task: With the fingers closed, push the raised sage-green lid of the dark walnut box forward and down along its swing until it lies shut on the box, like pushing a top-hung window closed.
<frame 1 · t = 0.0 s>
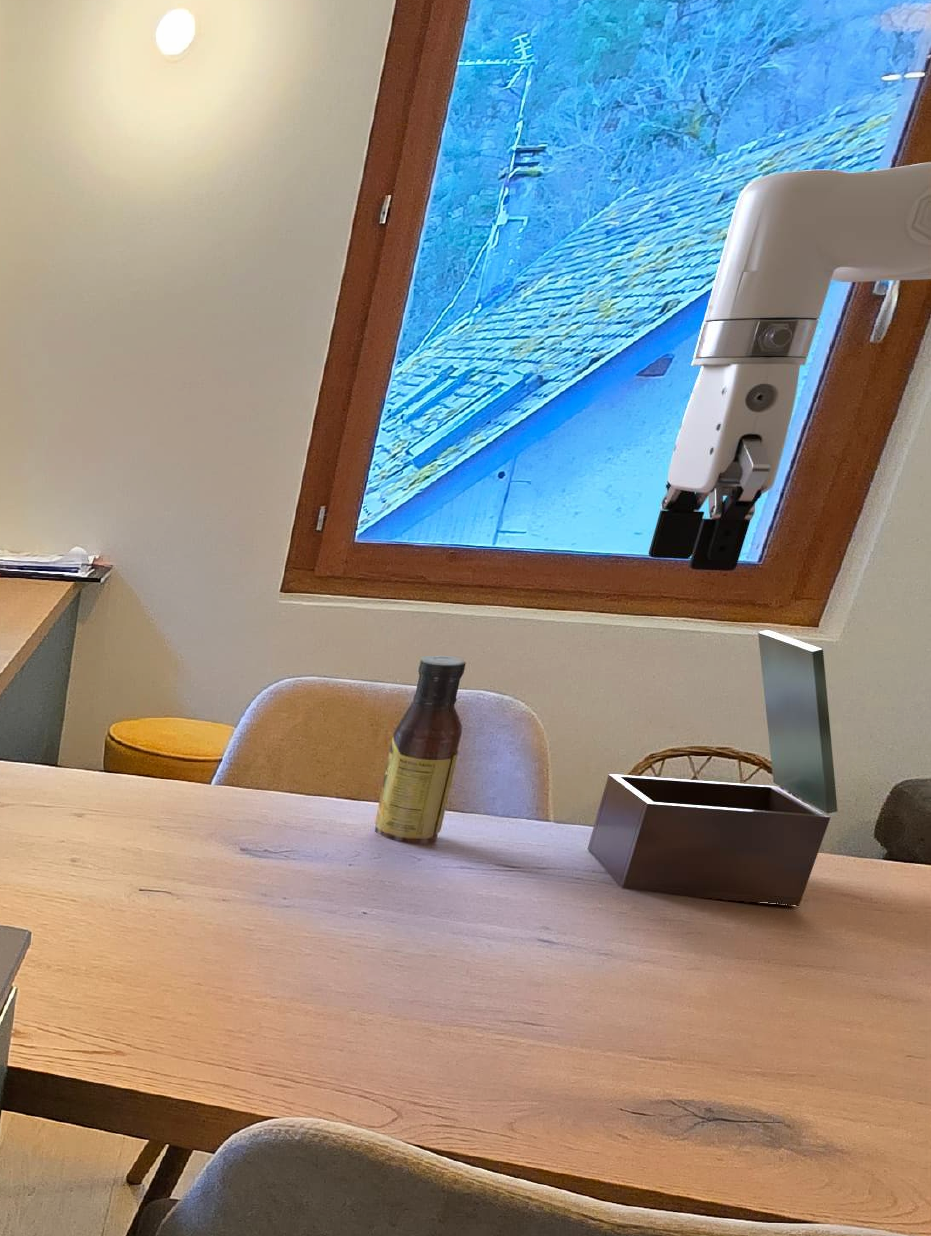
hand: (689, 563, 117), 31 cm above the table, tool pointing down, fingers open, 9 cm apart
sauce bottle: (402, 845, 145), on the table
chest: (686, 880, 135), on the table
lid: (796, 719, 127), point 16 cm above the table, hinge at 70.0°
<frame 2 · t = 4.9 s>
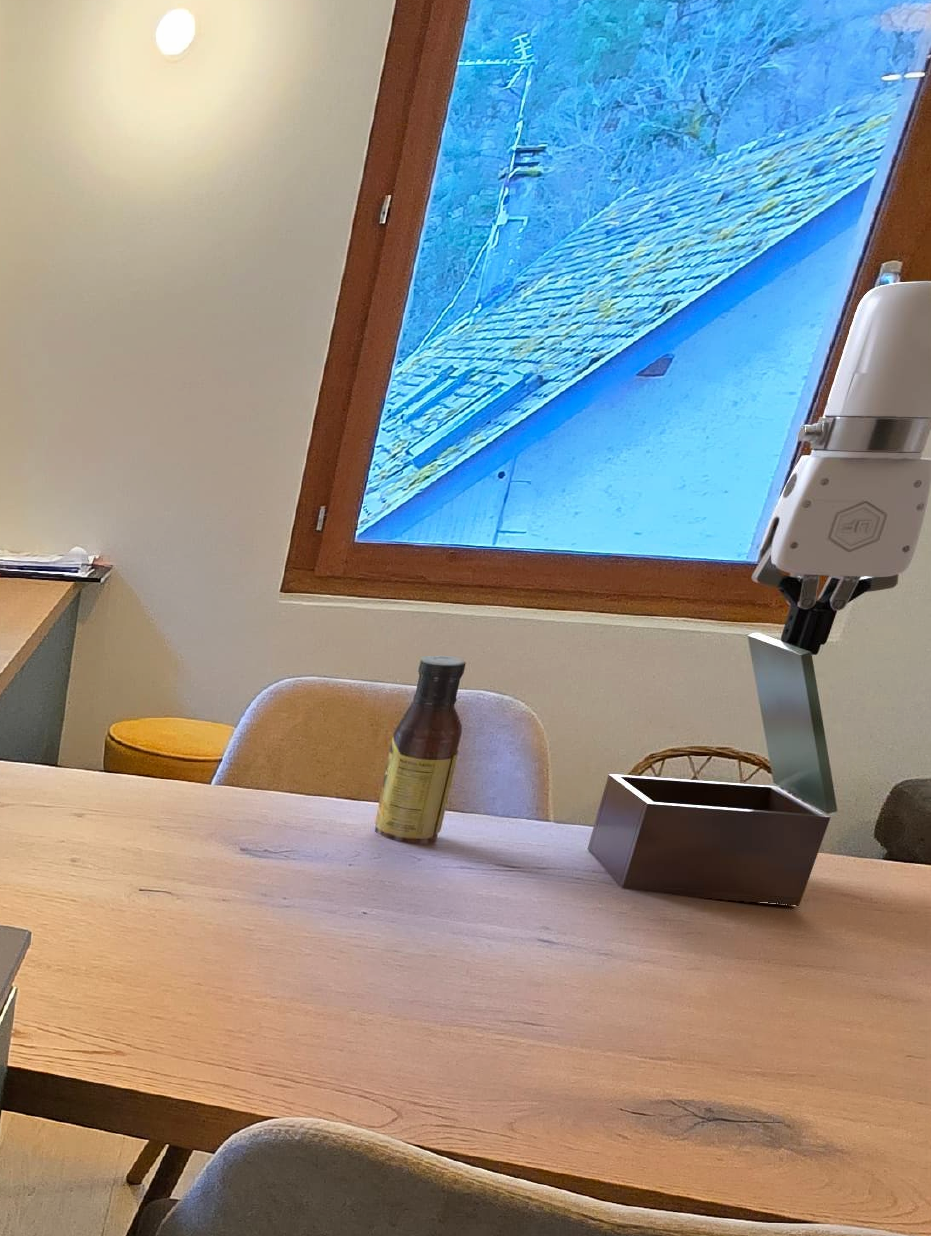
hand: (799, 651, 125), 23 cm above the table, tool pointing down, fingers closed
lid: (791, 721, 127), point 16 cm above the table, hinge at 66.9°
everything else where it was.
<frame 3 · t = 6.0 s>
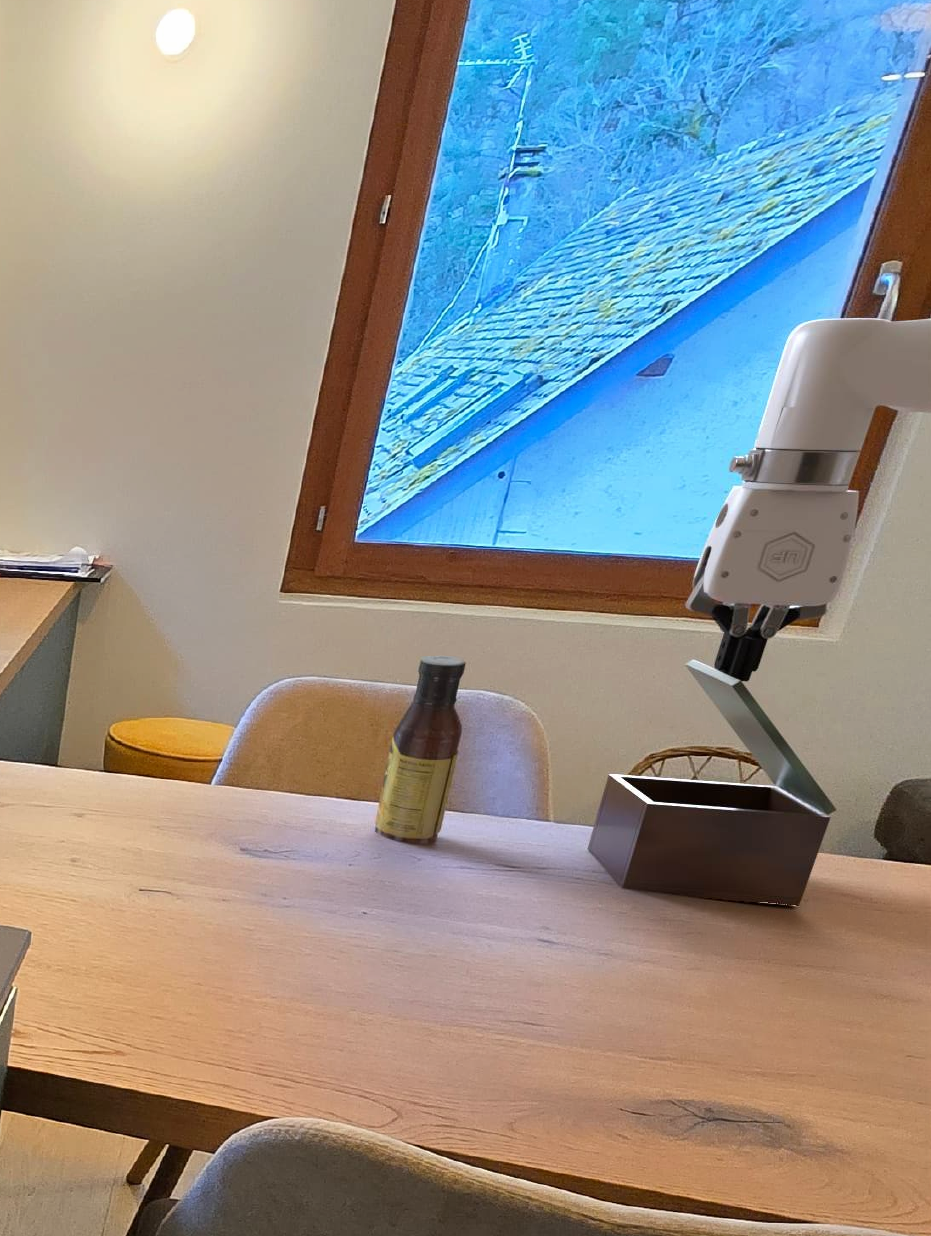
hand: (732, 678, 127), 20 cm above the table, tool pointing down, fingers closed
lid: (758, 734, 128), point 15 cm above the table, hinge at 46.7°, touching gripper
everything else where it was.
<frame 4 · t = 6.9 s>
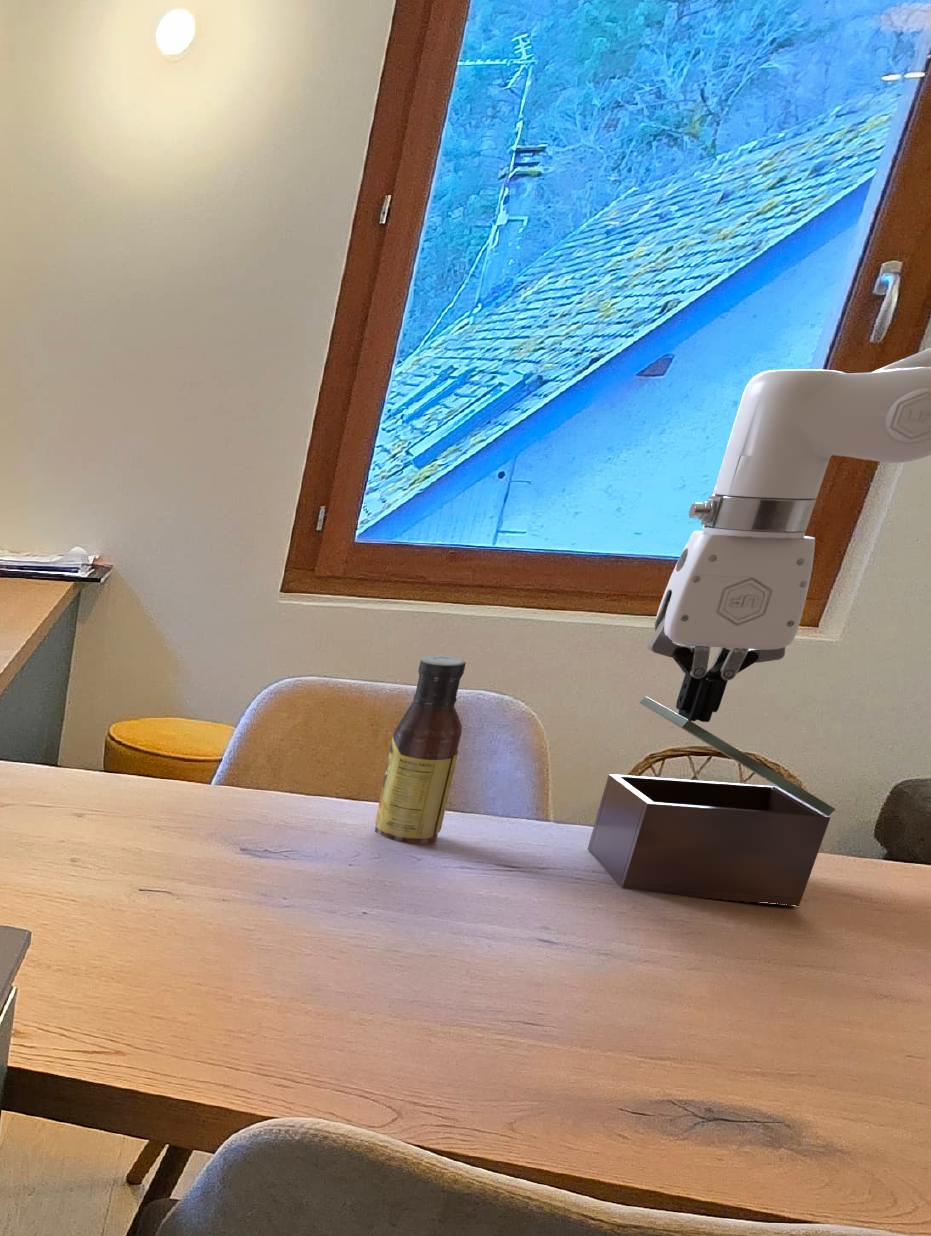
hand: (693, 718, 129), 16 cm above the table, tool pointing down, fingers closed
lid: (733, 753, 130), point 13 cm above the table, hinge at 28.3°, touching gripper
everything else where it was.
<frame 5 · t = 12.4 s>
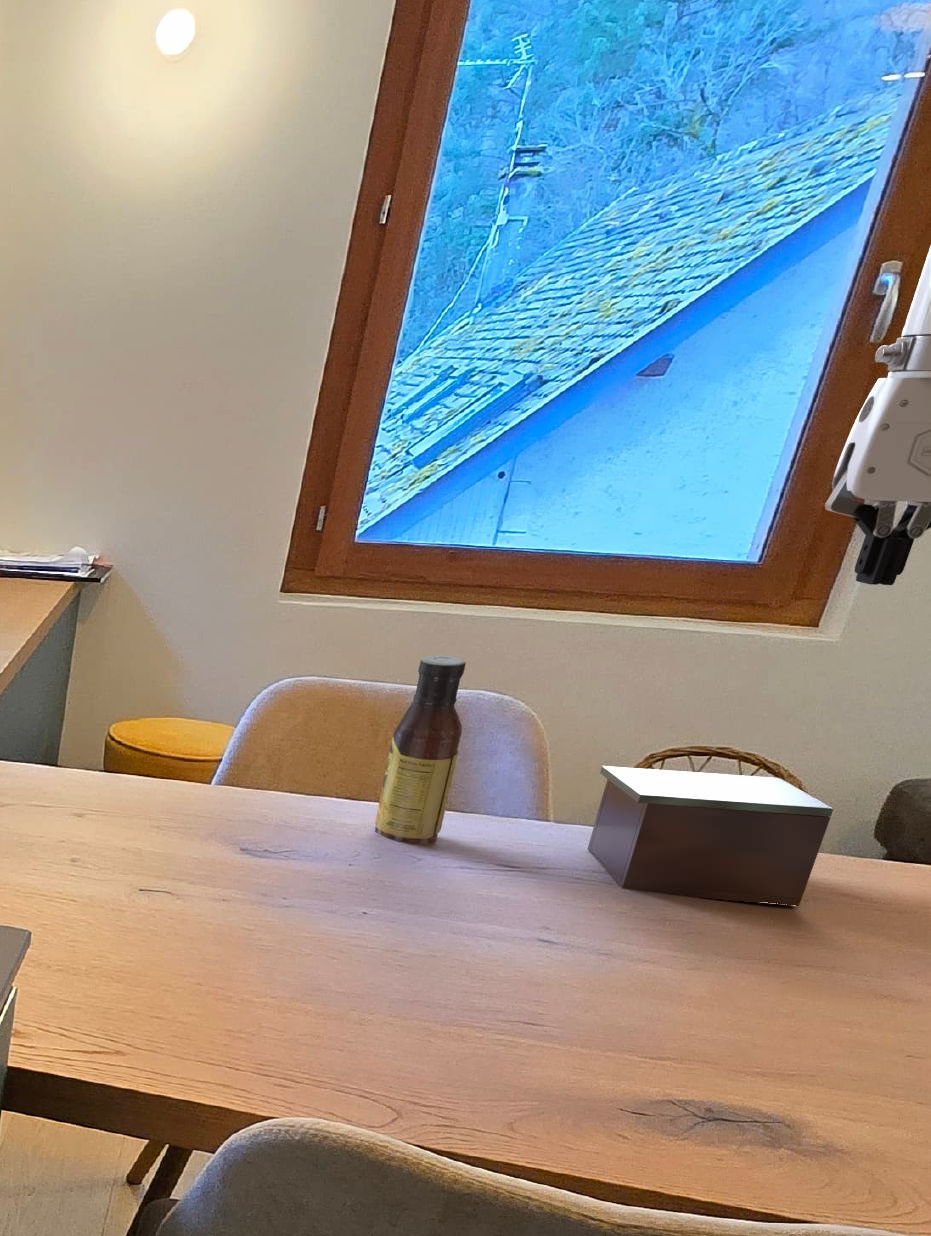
hand: (874, 582, 122), 29 cm above the table, tool pointing down, fingers closed
lid: (710, 790, 131), point 9 cm above the table, hinge at -0.2°, touching chest
everything else where it was.
at the end: lid at +0° (first picture: +70°); sauce bottle moved 0.1 cm from its start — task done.
